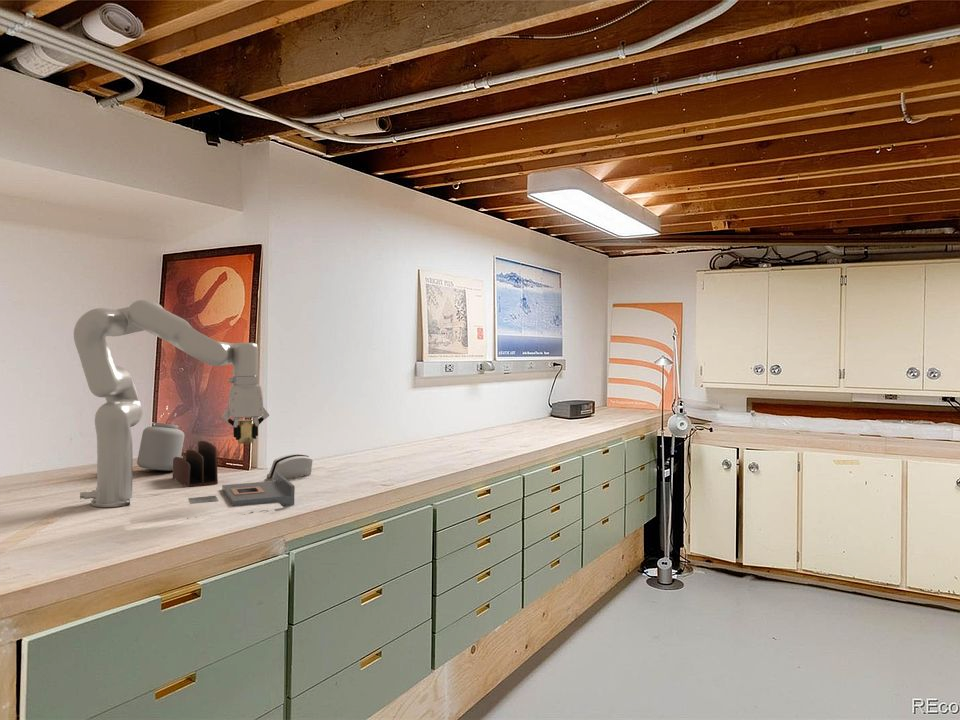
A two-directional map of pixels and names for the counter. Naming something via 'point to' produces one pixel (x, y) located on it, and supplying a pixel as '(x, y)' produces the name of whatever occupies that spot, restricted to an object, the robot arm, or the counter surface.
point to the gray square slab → (203, 499)
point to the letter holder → (197, 466)
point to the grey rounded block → (291, 466)
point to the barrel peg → (245, 431)
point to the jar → (160, 446)
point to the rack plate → (261, 492)
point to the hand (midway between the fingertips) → (245, 438)
